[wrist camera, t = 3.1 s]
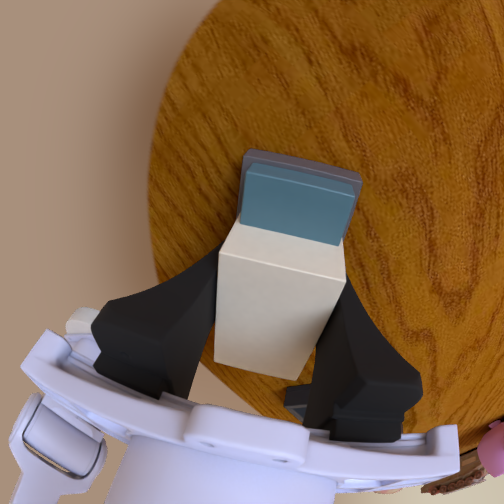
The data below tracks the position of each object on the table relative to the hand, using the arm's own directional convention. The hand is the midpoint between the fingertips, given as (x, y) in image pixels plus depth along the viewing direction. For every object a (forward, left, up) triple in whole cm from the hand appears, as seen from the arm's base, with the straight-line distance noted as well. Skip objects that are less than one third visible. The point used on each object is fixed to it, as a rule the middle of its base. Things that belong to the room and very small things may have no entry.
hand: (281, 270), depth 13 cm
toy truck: (0, 0, -1) cm, 1 cm away
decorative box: (+23, -71, -2) cm, 75 cm away
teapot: (+27, -43, -2) cm, 51 cm away
